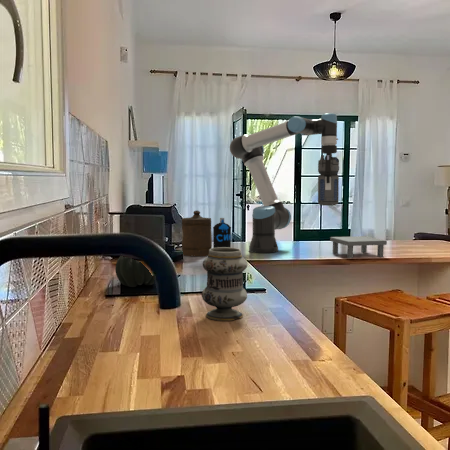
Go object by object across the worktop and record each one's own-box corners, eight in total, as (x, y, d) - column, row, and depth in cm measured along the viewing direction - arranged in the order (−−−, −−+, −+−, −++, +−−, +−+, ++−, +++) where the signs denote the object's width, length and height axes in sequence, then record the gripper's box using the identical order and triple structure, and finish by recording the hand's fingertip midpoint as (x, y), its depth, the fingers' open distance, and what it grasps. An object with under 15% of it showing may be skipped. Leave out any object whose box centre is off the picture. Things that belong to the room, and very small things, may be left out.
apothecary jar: (226, 325, 120) (226, 253, 118) (192, 316, 128) (192, 249, 126) (256, 315, 129) (256, 248, 127) (222, 307, 137) (223, 245, 135)
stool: (348, 258, 228) (348, 241, 228) (330, 252, 248) (330, 237, 247) (386, 257, 233) (386, 240, 232) (365, 251, 252) (365, 236, 251)
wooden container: (194, 251, 251) (194, 209, 249) (217, 254, 243) (217, 210, 241) (175, 255, 239) (175, 210, 237) (199, 257, 230) (199, 211, 229)
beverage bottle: (345, 205, 244) (345, 155, 242) (328, 205, 236) (329, 154, 234) (329, 204, 252) (329, 156, 250) (312, 205, 243) (313, 155, 242)
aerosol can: (210, 261, 218) (210, 217, 216) (226, 260, 221) (226, 217, 220) (217, 264, 211) (217, 218, 209) (234, 263, 214) (234, 218, 212)
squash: (163, 273, 160) (157, 236, 168) (117, 277, 156) (113, 239, 164) (159, 294, 171) (154, 259, 179) (116, 298, 167) (113, 262, 175)
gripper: (335, 143, 229) (335, 189, 231) (338, 146, 251) (338, 189, 252) (319, 143, 231) (319, 190, 233) (323, 147, 253) (323, 189, 254)
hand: (329, 189), depth 243 cm, fingers closed on beverage bottle, 10 cm apart
